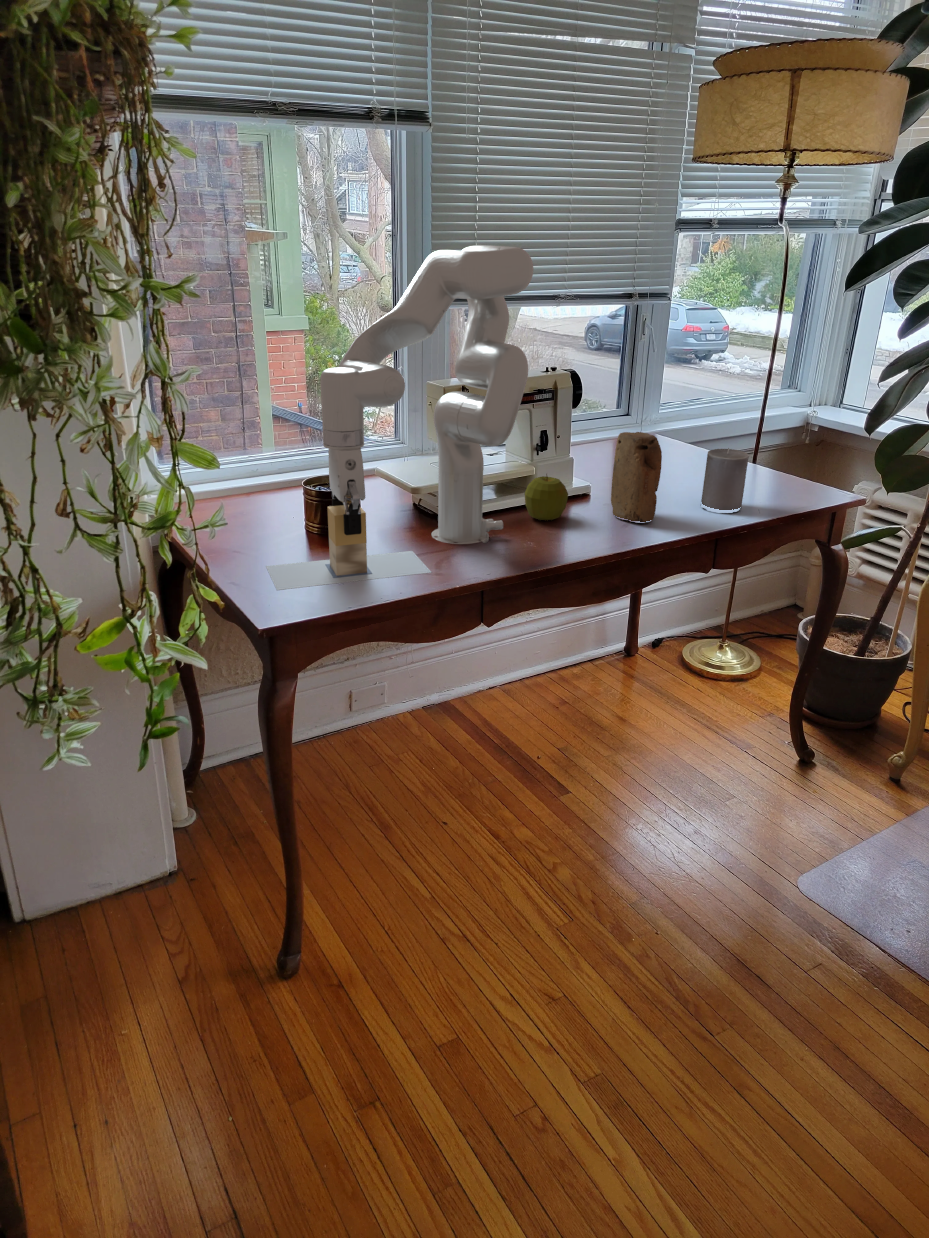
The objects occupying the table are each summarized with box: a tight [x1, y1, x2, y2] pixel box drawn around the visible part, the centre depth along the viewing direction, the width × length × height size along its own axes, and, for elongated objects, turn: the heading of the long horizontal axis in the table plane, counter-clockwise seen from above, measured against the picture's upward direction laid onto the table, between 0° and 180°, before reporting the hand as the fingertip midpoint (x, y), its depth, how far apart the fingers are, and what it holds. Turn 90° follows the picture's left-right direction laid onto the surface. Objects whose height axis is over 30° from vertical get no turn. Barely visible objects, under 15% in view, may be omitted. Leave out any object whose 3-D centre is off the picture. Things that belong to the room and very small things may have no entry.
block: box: [610, 431, 663, 522], centre depth 213 cm, size 11×8×20 cm
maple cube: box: [328, 536, 368, 576], centre depth 179 cm, size 6×6×6 cm
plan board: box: [265, 550, 433, 591], centre depth 180 cm, size 30×13×1 cm, turn 110°
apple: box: [524, 473, 569, 522], centre depth 214 cm, size 10×10×11 cm
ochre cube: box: [326, 505, 367, 546], centre depth 177 cm, size 6×6×6 cm
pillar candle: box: [700, 447, 750, 510], centre depth 223 cm, size 10×10×15 cm
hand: (346, 526), depth 177 cm, fingers open, 9 cm apart
